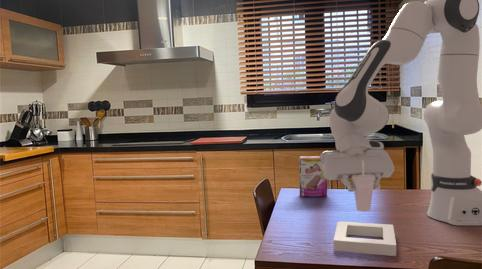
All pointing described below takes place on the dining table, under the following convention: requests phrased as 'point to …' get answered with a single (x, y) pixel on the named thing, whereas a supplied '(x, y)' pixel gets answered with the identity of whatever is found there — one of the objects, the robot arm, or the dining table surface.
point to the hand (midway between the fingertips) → (364, 189)
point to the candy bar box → (312, 177)
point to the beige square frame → (362, 244)
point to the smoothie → (363, 189)
